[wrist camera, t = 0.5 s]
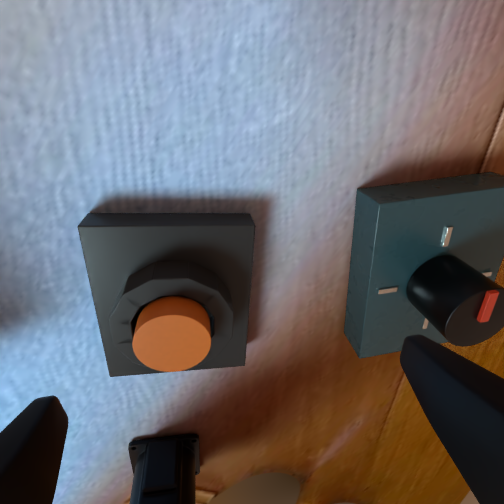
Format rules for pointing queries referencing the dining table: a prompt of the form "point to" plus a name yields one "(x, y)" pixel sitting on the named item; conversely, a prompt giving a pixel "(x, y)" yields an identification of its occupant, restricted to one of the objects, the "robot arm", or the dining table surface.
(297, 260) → the dining table surface
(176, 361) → the button
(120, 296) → the button base
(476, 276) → the dial
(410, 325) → the dial console
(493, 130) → the dining table surface
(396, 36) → the dining table surface
